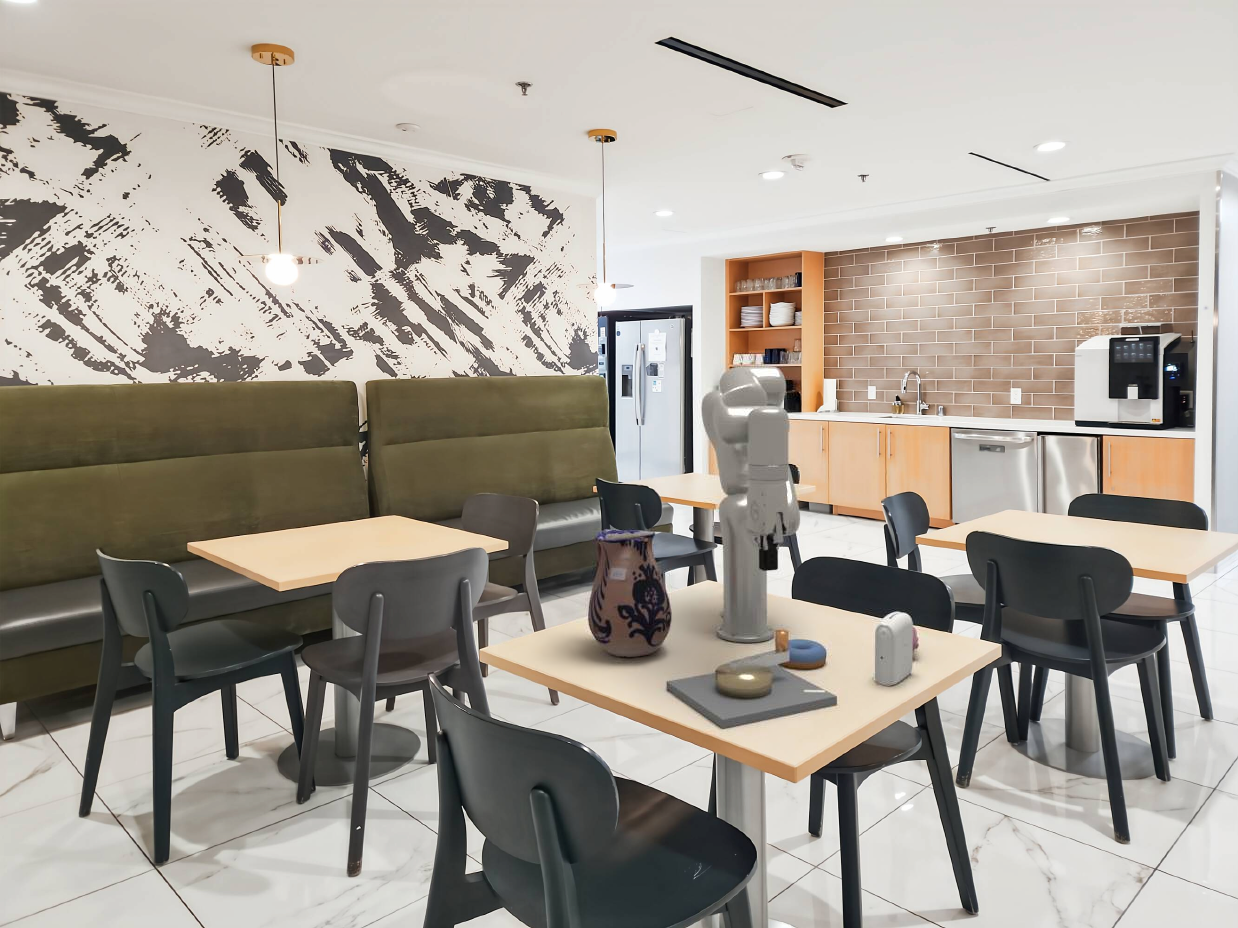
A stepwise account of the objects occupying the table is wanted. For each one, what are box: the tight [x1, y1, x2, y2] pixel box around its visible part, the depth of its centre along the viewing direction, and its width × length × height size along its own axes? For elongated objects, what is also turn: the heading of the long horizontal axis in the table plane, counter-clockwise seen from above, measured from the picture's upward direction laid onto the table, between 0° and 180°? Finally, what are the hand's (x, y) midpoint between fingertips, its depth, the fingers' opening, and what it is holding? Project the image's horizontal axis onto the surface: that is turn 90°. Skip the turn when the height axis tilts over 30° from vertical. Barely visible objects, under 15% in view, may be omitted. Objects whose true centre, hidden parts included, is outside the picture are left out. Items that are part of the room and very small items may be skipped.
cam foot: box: [714, 629, 790, 698], centre depth 154 cm, size 16×10×8 cm, turn 124°
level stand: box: [666, 664, 838, 729], centre depth 154 cm, size 20×23×2 cm
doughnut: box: [780, 638, 828, 670], centre depth 172 cm, size 10×10×5 cm
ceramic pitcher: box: [587, 528, 673, 658], centre depth 181 cm, size 18×21×25 cm
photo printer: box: [874, 611, 914, 687], centre depth 161 cm, size 10×4×12 cm, turn 140°
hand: (768, 569), depth 163 cm, fingers closed
